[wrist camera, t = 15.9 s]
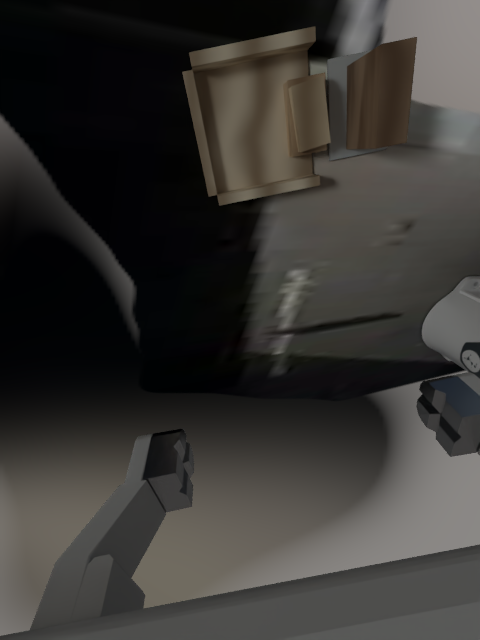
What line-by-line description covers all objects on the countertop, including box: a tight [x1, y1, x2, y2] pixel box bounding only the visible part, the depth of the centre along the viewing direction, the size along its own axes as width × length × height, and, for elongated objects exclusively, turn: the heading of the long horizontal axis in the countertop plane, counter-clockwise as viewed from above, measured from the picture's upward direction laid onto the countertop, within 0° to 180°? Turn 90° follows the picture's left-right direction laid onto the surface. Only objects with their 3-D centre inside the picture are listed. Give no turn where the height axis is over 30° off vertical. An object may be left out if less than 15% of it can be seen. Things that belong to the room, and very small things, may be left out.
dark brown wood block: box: [346, 37, 417, 149], centre depth 35 cm, size 4×9×8 cm, turn 10°
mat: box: [327, 50, 386, 161], centre depth 39 cm, size 8×11×1 cm
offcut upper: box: [288, 75, 331, 152], centre depth 36 cm, size 4×7×2 cm, turn 16°
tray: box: [182, 27, 320, 206], centre depth 37 cm, size 15×16×4 cm
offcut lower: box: [283, 73, 327, 157], centre depth 37 cm, size 4×8×2 cm, turn 10°
